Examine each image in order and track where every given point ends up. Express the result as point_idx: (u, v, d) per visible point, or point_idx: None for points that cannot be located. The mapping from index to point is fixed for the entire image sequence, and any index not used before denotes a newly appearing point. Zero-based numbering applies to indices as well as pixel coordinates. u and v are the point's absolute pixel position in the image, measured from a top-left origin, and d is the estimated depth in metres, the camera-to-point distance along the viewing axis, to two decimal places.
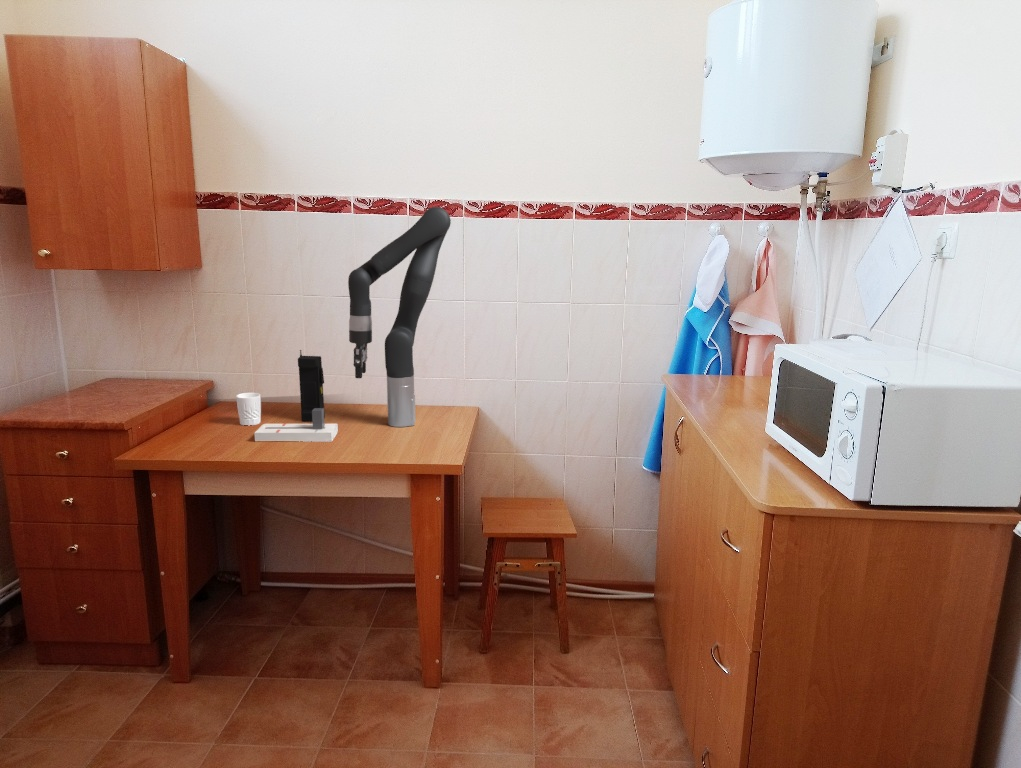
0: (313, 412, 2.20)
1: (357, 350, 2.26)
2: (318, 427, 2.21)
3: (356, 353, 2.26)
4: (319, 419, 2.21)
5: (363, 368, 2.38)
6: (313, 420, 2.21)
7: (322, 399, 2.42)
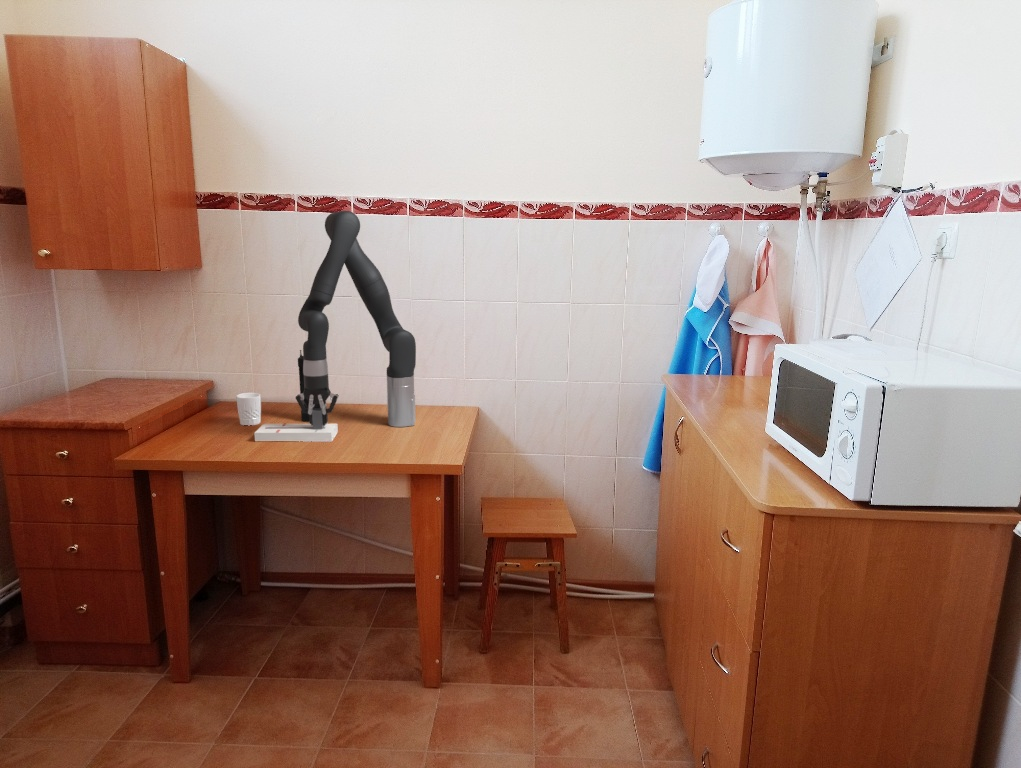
0: (313, 412, 2.20)
1: (337, 397, 2.21)
2: (318, 427, 2.21)
3: (336, 400, 2.21)
4: (319, 419, 2.21)
5: None
6: (313, 420, 2.21)
7: None
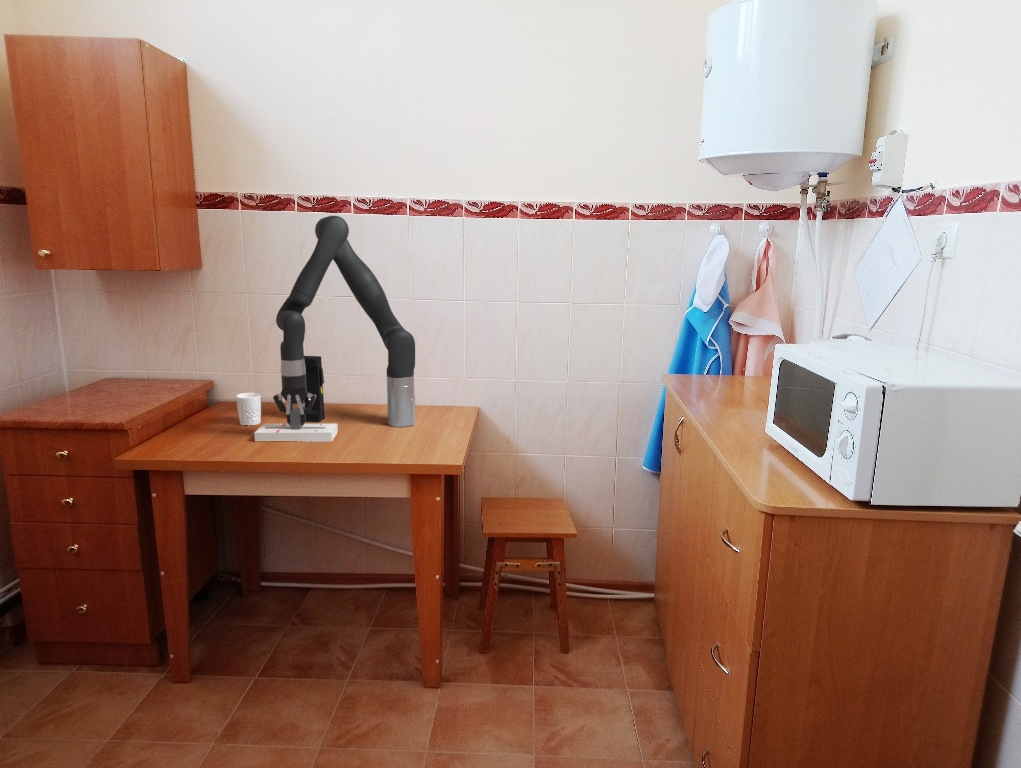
0: (291, 412, 2.20)
1: (315, 397, 2.21)
2: (296, 427, 2.21)
3: (314, 400, 2.21)
4: (297, 419, 2.20)
5: None
6: (291, 420, 2.20)
7: (322, 399, 2.42)
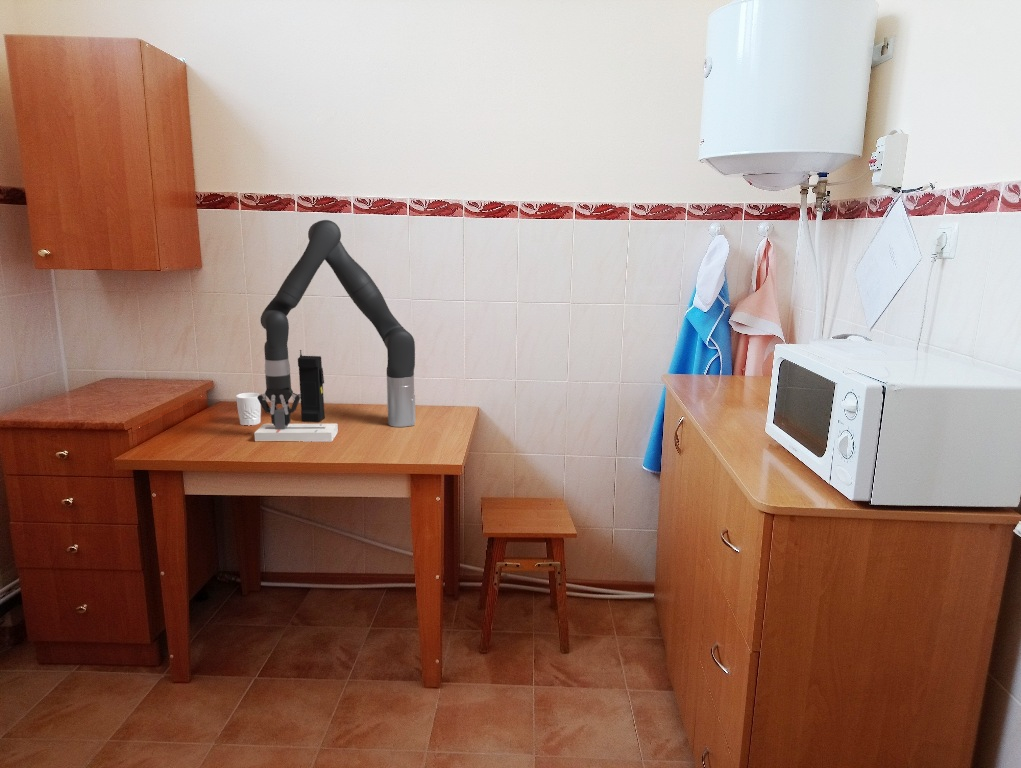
0: (275, 412, 2.20)
1: (299, 397, 2.21)
2: (280, 427, 2.21)
3: (298, 400, 2.21)
4: (281, 419, 2.20)
5: None
6: (275, 420, 2.20)
7: (322, 399, 2.42)
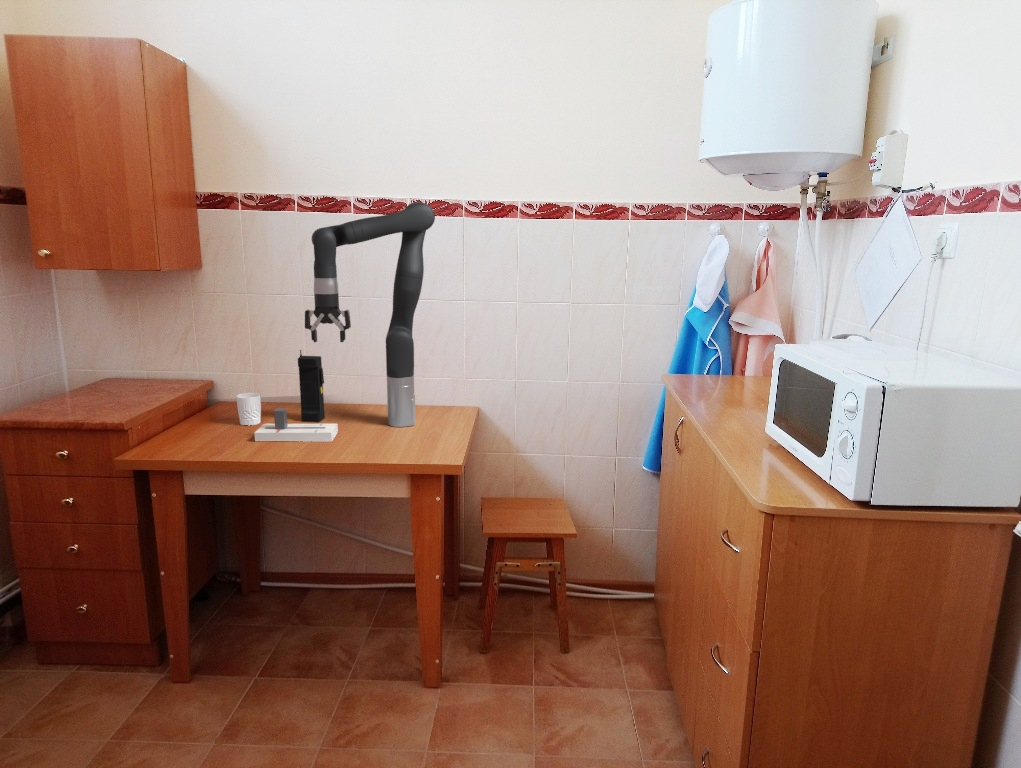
0: (275, 412, 2.20)
1: (348, 311, 2.22)
2: (280, 427, 2.21)
3: (348, 314, 2.22)
4: (281, 419, 2.20)
5: (316, 336, 2.24)
6: (275, 420, 2.20)
7: (322, 399, 2.42)
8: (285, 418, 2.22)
